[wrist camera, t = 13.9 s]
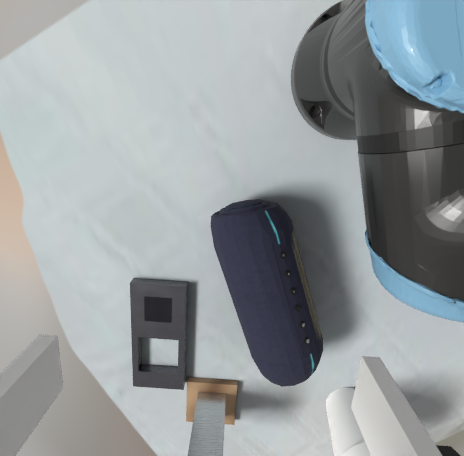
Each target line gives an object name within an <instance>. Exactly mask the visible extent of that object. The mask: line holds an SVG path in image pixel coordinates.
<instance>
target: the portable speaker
mask: <svg viewBox="0 0 464 456" xmlns="http://www.w3.org/2000/svg"><path fill="white" fill-rule="evenodd" d="M211 230H212V236H213V242H214V247H215V250H216V253H217V256H218V259H219V262H220V265H221V268H222V271H223V274H224V277H225V280H226V282H227V285H228V288H229V291H230V294H231V297H232V300H233V303H234V306H235V309H236V312H237V315H238V318H239V320H240V323H241V326H242V329H243V332H244V335H245V338H246V341H247V344H248V347H249V350H250V353H251V356H252V358H253V360H254V362H255V363H256V365H257V367H258V368H259V370H260V372H261V373H262V375H263V376H264V377H265V378H266V379H268V380H269V381H270V382H272V383H274V384H277V385H280V386H294V385H296V384H299V383H301V382H303V381H305V380H307V379H308V378H309V377H310V376H311V375H312V374H313V372H314V371H315V370H316V368H317V366H318V364H319V361H320V358H321V355H322V351H323V338H322V334H321V331H320V328H319V324H318V321H317V317H316V313H315V309H314V306H313V302H312V298H311V294H310V291H309V287H308V283H307V279H306V276H305V272H304V268H303V264H302V261H301V257H300V253H299V249H298V246H297V242H296V238H295V234H294V231H293V225H292V221H291V219H290V217H289V216H288V214H287V212H286V211H285V210H284V209H283V208H282V207H280V206H279V205H278V204H277V203H272V202H267V201H262V200H245V201H240V202H236V203H232V204H230V205H228V206H226V207H225V208H223V209H221V210H220V211H218V212H216V213H214V214H213V215H212V216H211ZM300 274H301V275H300Z"/></svg>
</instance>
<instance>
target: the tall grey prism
mask: <svg viewBox="0 0 464 456" xmlns="http://www.w3.org/2000/svg"><path fill="white" fill-rule="evenodd" d="M225 403H226V393H213V392H198V395H197V402H196V408H195V414H194V420H193V426H192V432H191V439H190V445H189V451H188V456H223V442H224V422H225Z"/></svg>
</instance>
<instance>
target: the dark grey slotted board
mask: <svg viewBox="0 0 464 456" xmlns="http://www.w3.org/2000/svg"><path fill="white" fill-rule="evenodd" d="M187 291H188V282H183V281H168V280H153V279H138V278H133V280H132V281H131V282H130V297H131V330H132V363H133V386H137V387H152V388H166V389H181V390H184V385H185V369H186V330H187ZM141 337H142V338H157V339H172V340H179V352H178V367H174V366H159V365H145V364H142V361H141Z"/></svg>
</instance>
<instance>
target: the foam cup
mask: <svg viewBox="0 0 464 456" xmlns="http://www.w3.org/2000/svg"><path fill="white" fill-rule="evenodd" d="M354 391H355V389H354V388H347V387H343V388H340V389H336V390H335V391H333V392H332V393H331V394H329V396H328V398H327V400H326V408H327V415H328V421H329V427H330V433H331V439H332V445H333V451H334V456H371V455H370V452H369V450H368V447H367V445H366V442H365V440H364V438H363V435H362V433H361V430H360V428H359V426H358V423H357V421H356V418H355V416H354V414H353V411H352V409H351V405H352V401H353V396H354Z"/></svg>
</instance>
